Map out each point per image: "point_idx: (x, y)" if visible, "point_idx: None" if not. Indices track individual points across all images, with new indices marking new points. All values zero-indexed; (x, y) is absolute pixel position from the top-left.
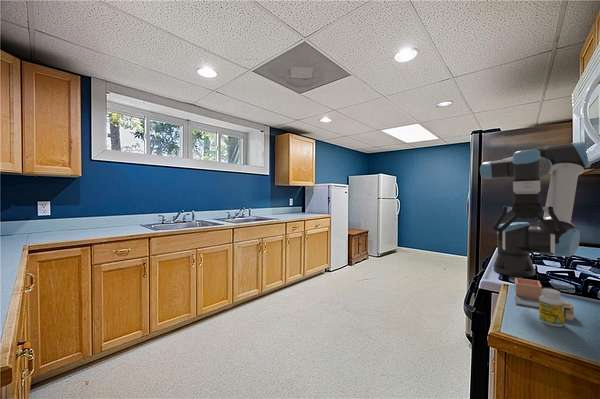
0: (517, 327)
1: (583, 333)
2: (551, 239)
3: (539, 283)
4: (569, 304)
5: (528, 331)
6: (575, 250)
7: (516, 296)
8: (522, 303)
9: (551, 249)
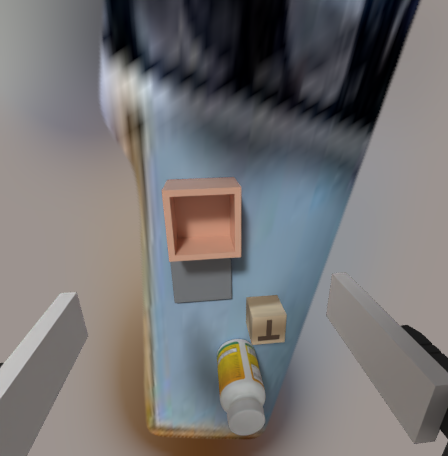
0: (180, 400)
1: (275, 365)
2: (384, 377)
3: (238, 221)
4: (281, 329)
5: (196, 403)
6: None
7: None
8: (188, 297)
9: (338, 312)
